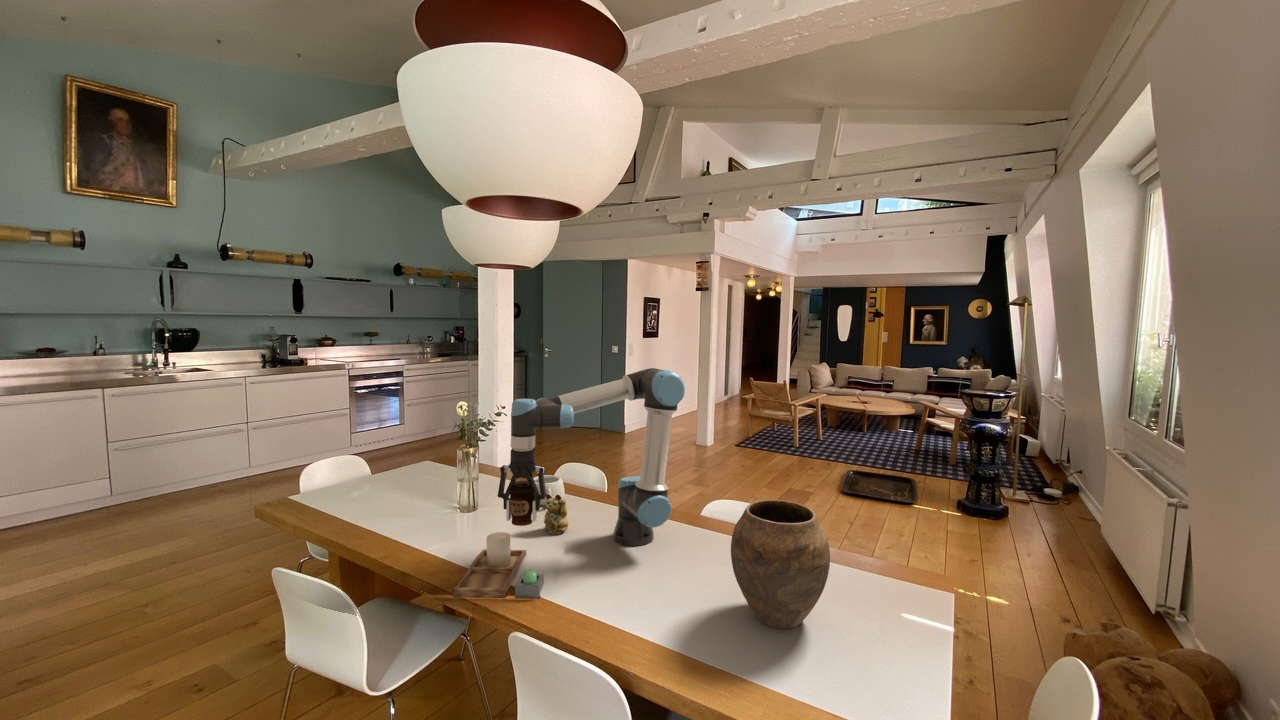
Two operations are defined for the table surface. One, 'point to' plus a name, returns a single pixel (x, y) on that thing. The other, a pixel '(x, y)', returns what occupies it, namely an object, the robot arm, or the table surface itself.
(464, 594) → the wooden tray
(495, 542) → the seated billet
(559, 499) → the decorative figurine
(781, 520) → the vase
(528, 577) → the button
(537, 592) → the button housing
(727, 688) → the table surface
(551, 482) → the mug
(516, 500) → the coffee cup
